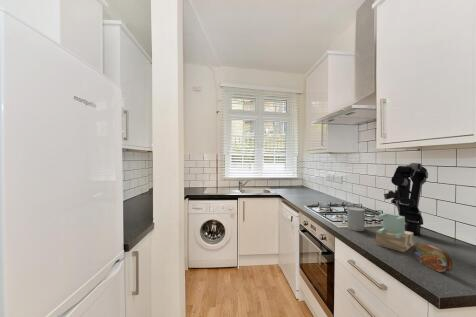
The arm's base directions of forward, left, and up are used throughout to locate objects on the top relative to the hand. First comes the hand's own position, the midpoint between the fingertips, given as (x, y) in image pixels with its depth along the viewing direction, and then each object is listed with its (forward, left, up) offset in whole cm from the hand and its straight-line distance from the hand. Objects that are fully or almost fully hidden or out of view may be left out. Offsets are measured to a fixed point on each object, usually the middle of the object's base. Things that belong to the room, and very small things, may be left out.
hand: (400, 217), depth 120 cm
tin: (+2, +29, -13) cm, 31 cm away
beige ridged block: (+6, +6, -12) cm, 15 cm away
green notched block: (+9, +10, -6) cm, 14 cm away
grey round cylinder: (+16, -18, -13) cm, 28 cm away
